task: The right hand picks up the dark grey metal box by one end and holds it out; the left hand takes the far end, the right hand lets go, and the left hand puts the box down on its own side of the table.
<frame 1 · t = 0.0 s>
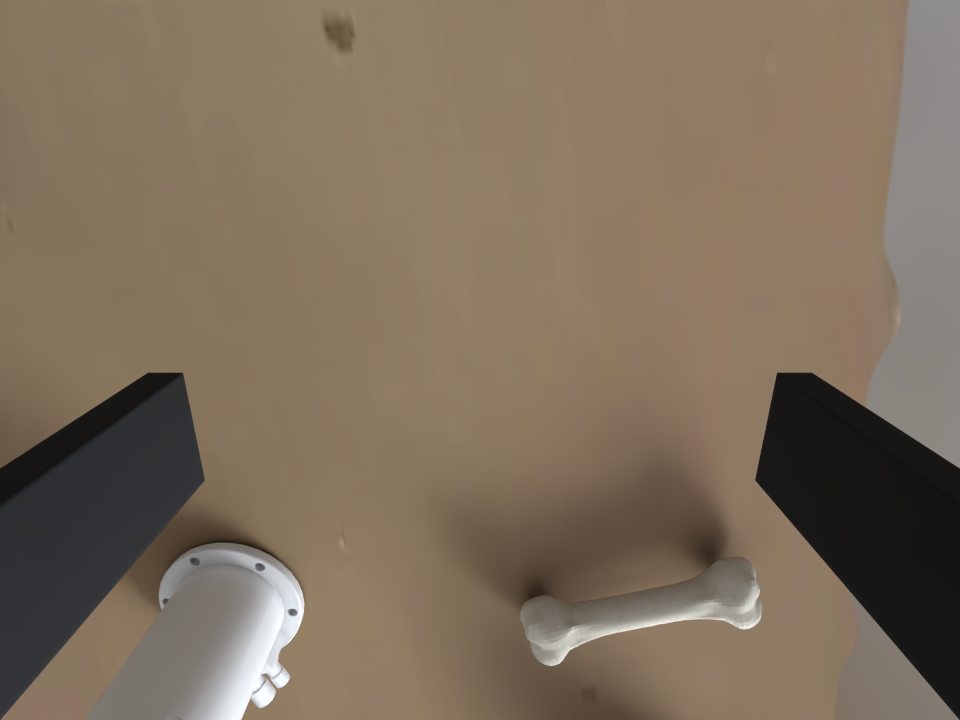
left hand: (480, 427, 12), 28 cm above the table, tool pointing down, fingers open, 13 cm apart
dog toy: (631, 588, 49), on the table
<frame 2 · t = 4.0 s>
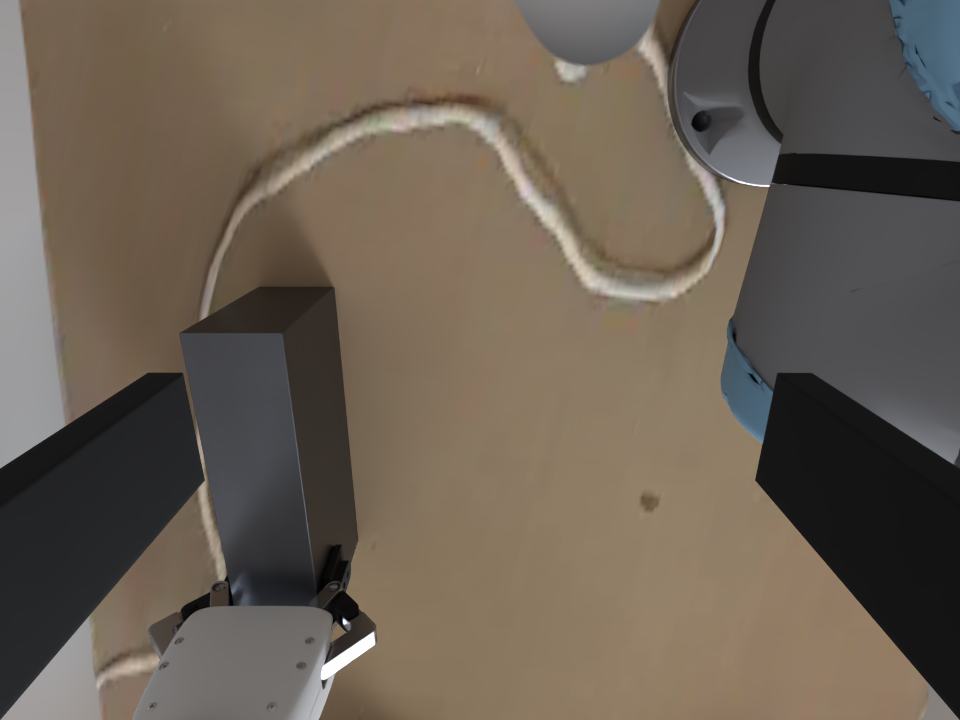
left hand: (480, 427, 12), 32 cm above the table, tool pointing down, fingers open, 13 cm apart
right hand: (297, 559, 45), fingers closed on box, 6 cm apart
box: (312, 424, 49), on the table, touching right hand
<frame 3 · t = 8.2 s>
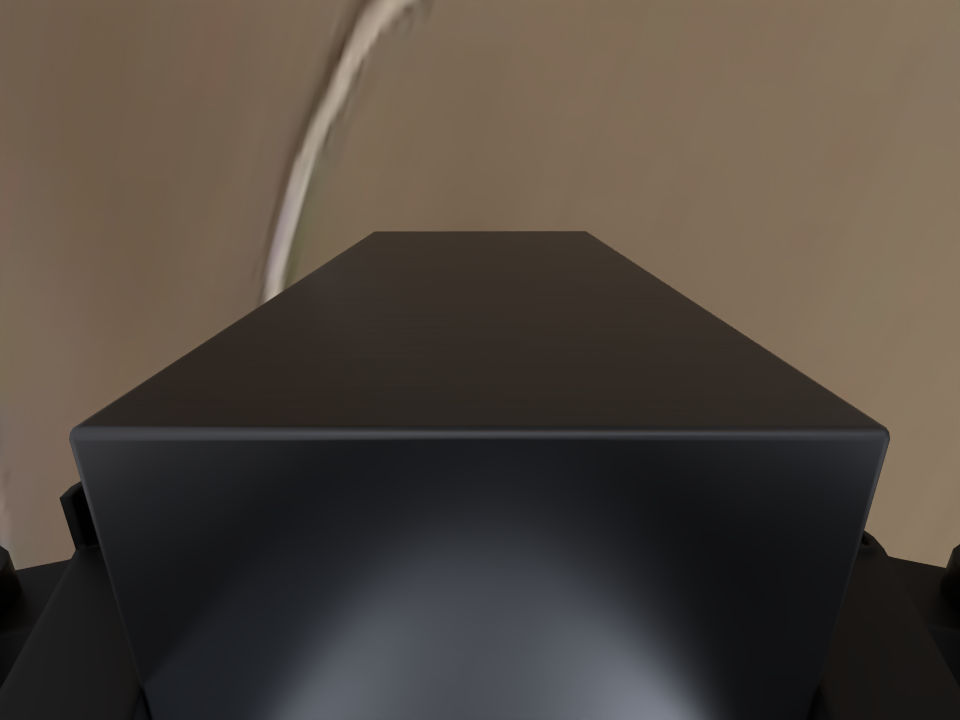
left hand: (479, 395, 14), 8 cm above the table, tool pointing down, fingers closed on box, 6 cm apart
box: (480, 579, 20), point 5 cm above the table, touching left hand, right hand
when the right hand's fingers open (13 cm above the table, at t = 9.3 s): box stays where it is, held by the left hand.
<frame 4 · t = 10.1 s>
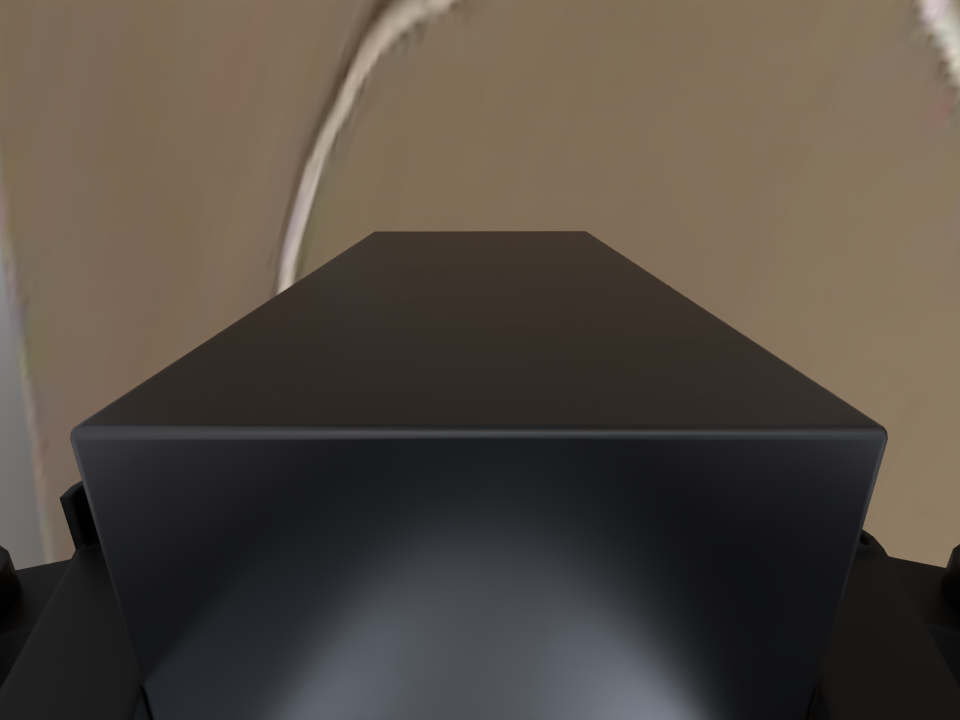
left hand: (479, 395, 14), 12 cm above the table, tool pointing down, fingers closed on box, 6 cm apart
box: (480, 578, 20), point 8 cm above the table, touching left hand
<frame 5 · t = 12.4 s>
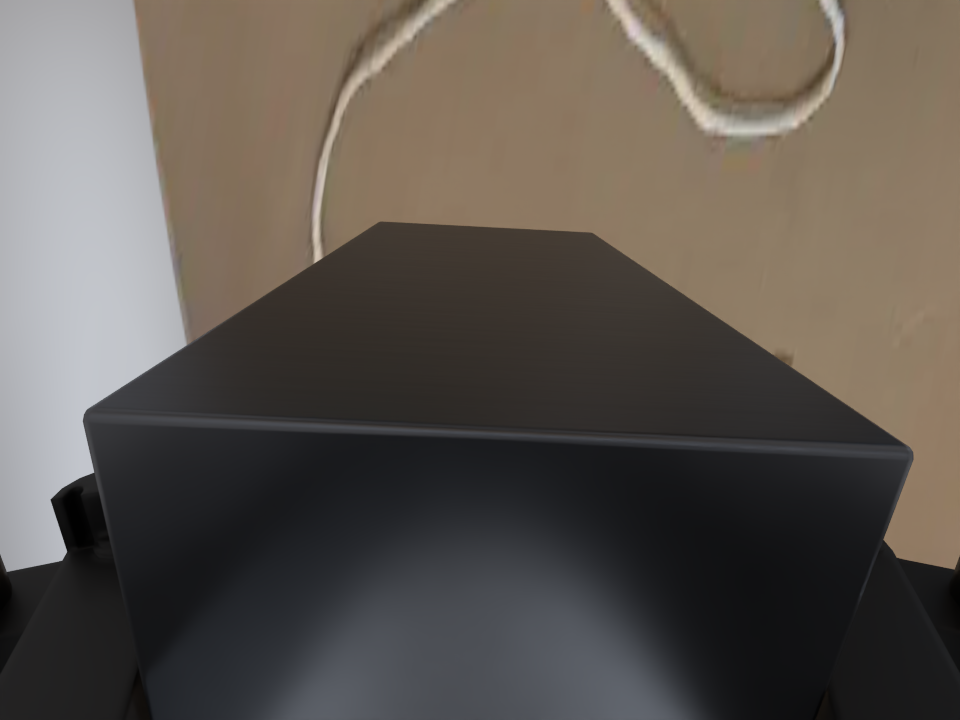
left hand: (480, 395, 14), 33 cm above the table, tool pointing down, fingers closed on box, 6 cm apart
box: (467, 574, 20), point 30 cm above the table, touching left hand
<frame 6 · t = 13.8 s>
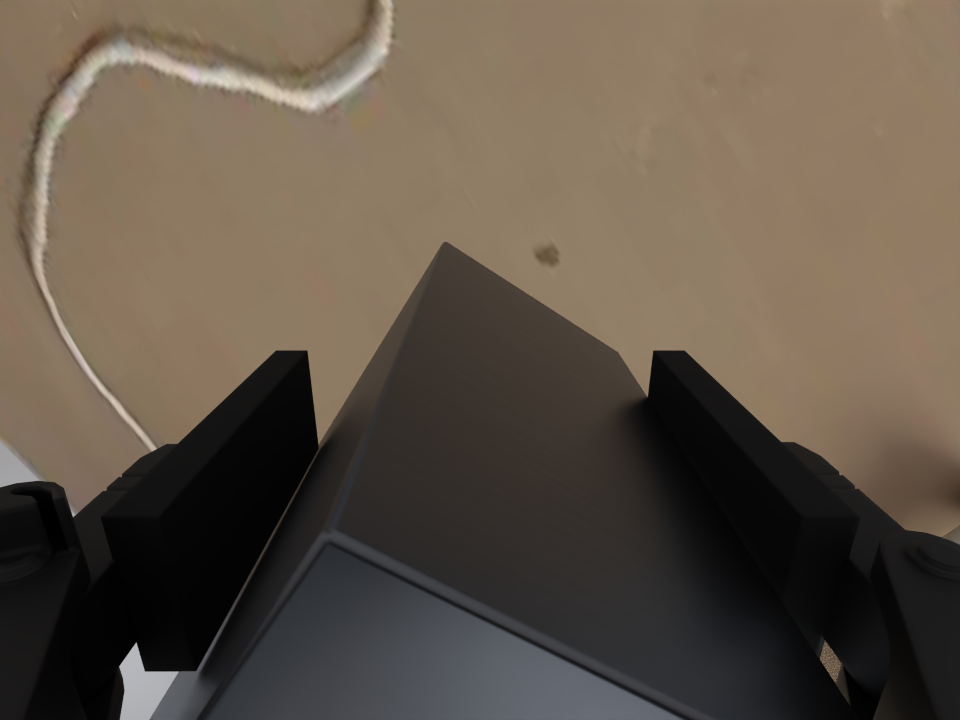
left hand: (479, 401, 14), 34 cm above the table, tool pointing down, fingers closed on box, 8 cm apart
box: (337, 580, 20), point 31 cm above the table, touching left hand
when the left hand's fingers open (5 cm above the table, at t = 19.4 s): box drops 1 cm, on the table.
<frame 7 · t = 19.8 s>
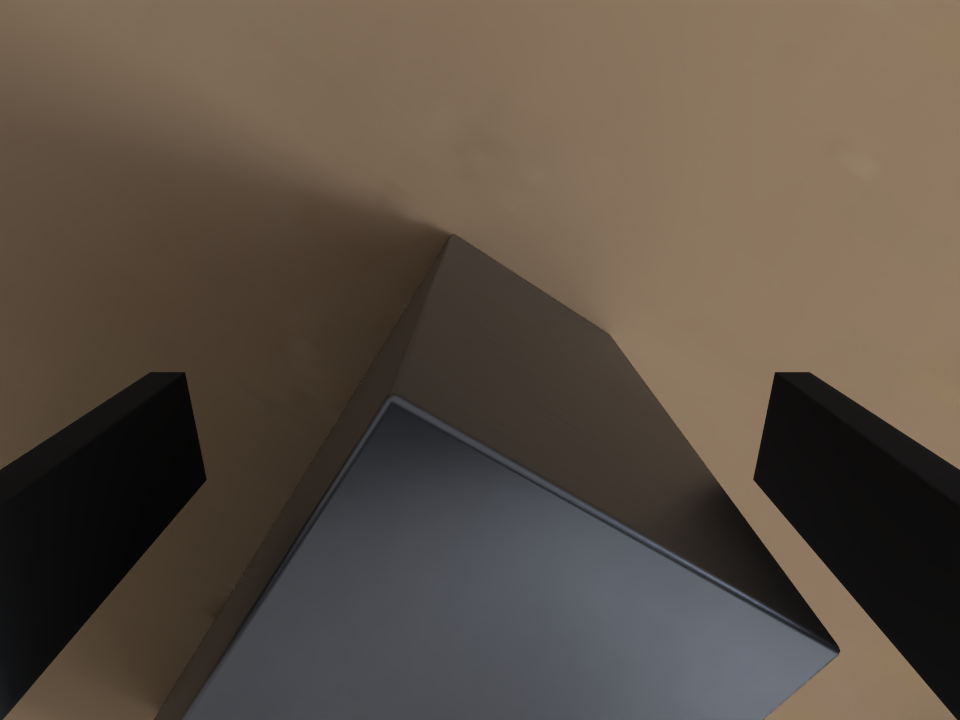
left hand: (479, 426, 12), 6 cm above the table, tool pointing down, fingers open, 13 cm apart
box: (351, 552, 21), on the table
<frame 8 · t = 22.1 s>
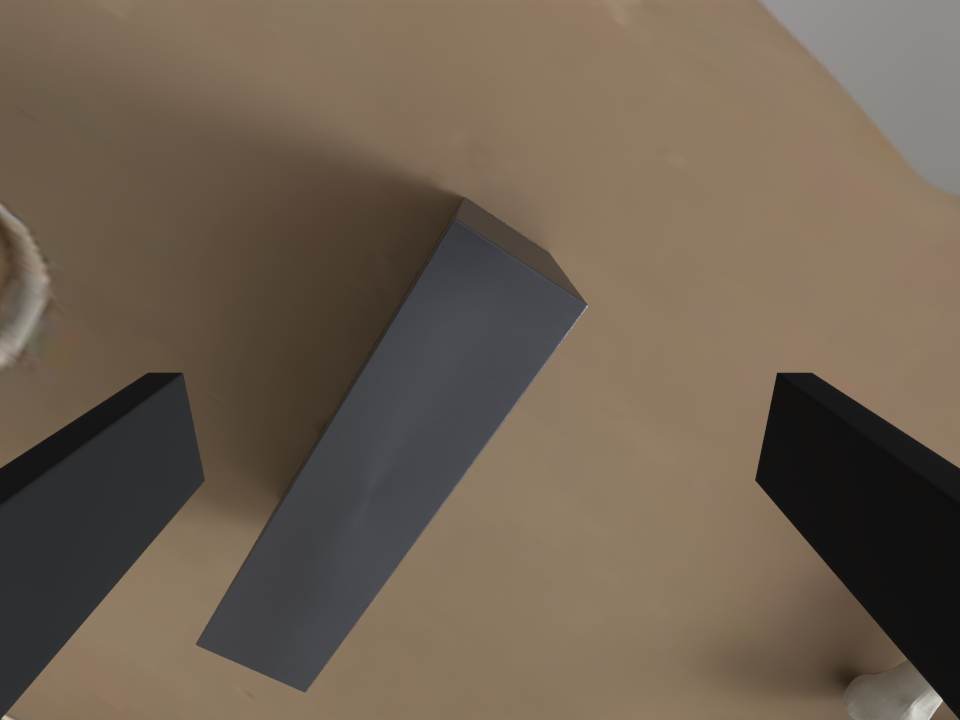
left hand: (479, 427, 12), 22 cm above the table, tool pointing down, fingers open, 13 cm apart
dog toy: (940, 619, 43), on the table
box: (403, 387, 36), on the table
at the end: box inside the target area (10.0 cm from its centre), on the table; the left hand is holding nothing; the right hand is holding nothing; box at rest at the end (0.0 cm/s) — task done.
